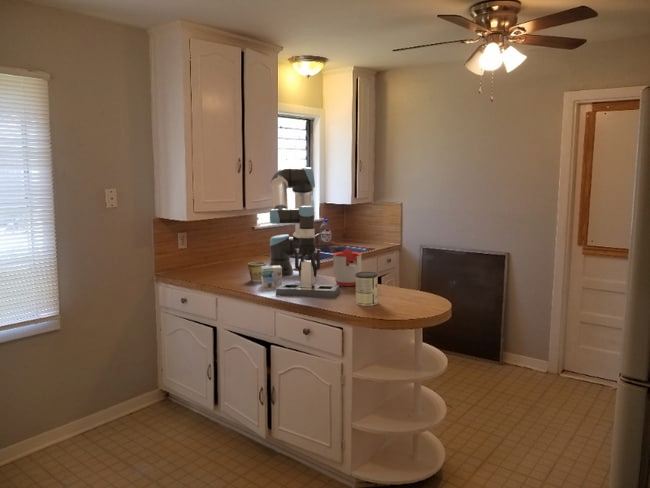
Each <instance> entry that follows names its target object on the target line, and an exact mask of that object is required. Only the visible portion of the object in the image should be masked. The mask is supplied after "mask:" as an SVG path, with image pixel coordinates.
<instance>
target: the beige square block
mask: <svg viewBox="0 0 650 488" xmlns="http://www.w3.org/2000/svg"><path fill="white" fill-rule="evenodd" d="M301 269H302V283H301V284H302V288H310V289H313V288H314V284H315V283H312V270H313V266H312V262H311V259H310V260H306V259H304V261H303V262H301Z"/></svg>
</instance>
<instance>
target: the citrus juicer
mask: <svg viewBox="0 0 650 488" xmlns="http://www.w3.org/2000/svg"><path fill="white" fill-rule="evenodd" d="M332 258H333V275H334V279H335V283H336V285H340V287H343V286H345V287H353V286H355V287H356V276H355V274H356V273H358V272H362V252H358V251H351V250H350V249H349V248H345V249H344V250H343V251H338V252H334V253H333V254H332Z"/></svg>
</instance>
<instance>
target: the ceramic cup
mask: <svg viewBox="0 0 650 488" xmlns="http://www.w3.org/2000/svg"><path fill="white" fill-rule="evenodd" d="M261 266H266V262H264V261H252V262H248V263H247V268H248V272H249V277H250V281H251V282H253V283H257V282H260V283H261Z"/></svg>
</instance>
